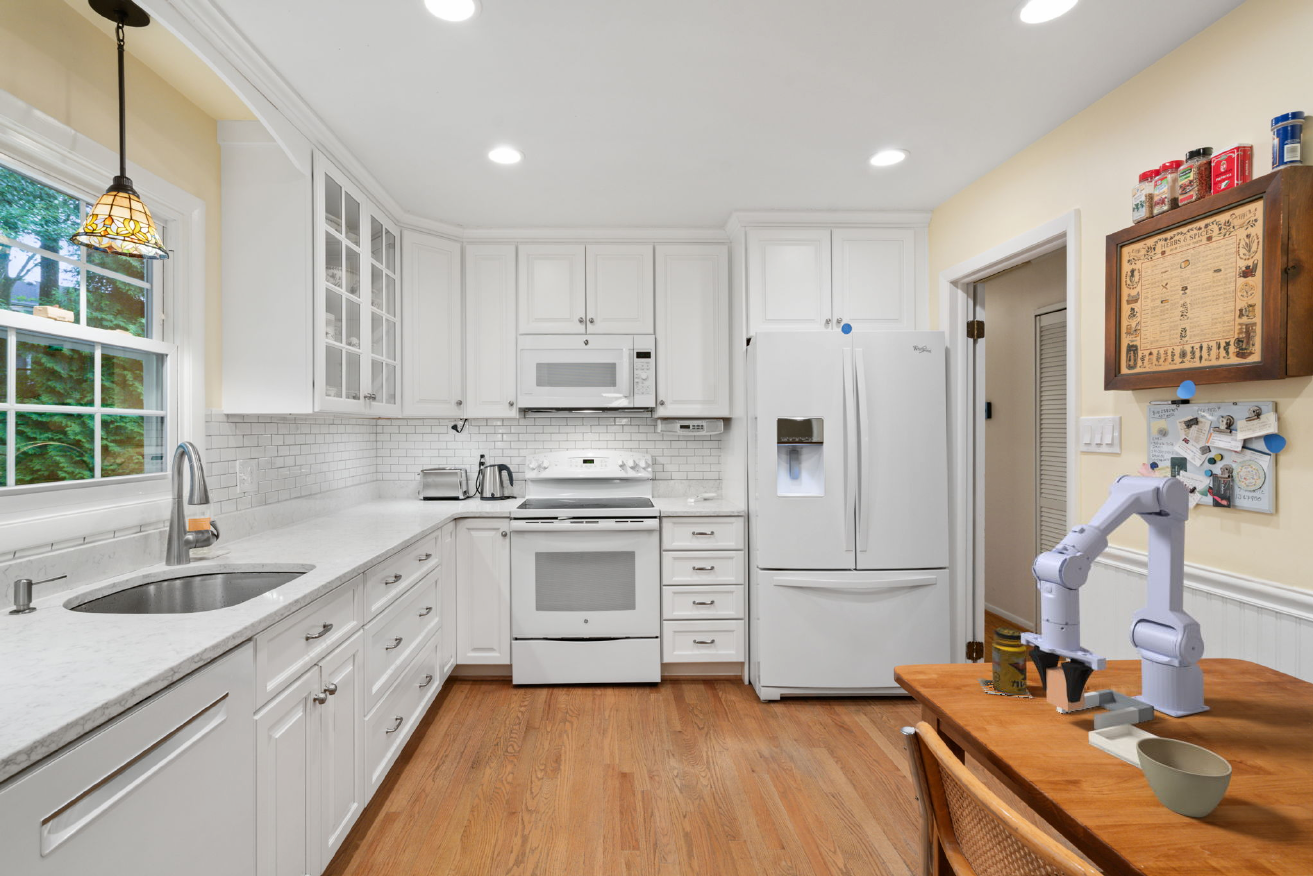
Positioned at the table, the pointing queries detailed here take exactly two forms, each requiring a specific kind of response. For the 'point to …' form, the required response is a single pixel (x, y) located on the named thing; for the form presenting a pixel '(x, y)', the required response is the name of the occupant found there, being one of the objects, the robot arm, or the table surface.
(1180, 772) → the beige bowl
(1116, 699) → the grey u-shaped piece
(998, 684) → the condiment
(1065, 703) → the block
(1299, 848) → the table surface
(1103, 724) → the channel
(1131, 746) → the tray
